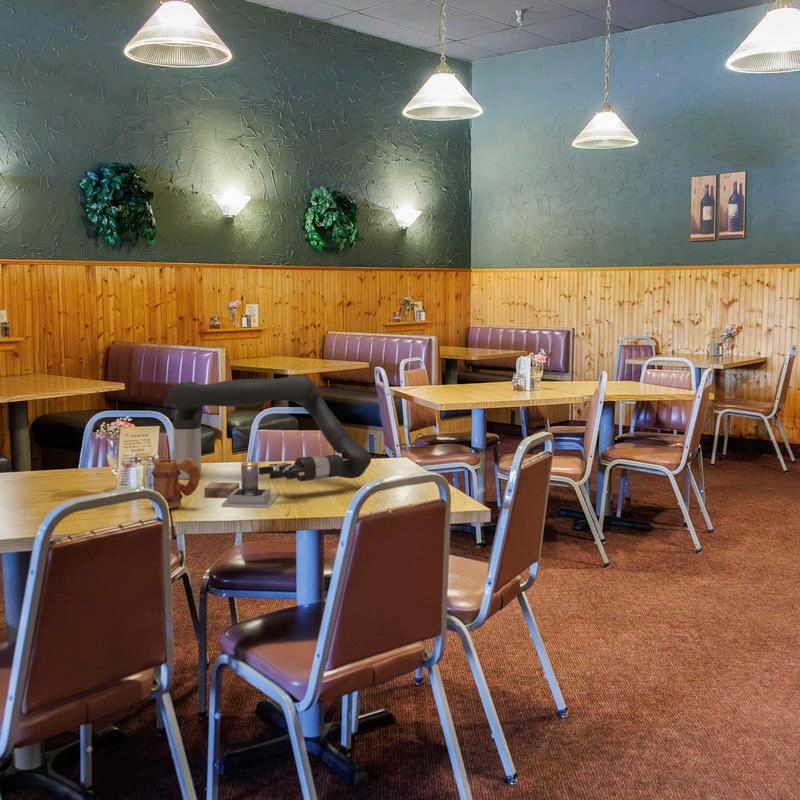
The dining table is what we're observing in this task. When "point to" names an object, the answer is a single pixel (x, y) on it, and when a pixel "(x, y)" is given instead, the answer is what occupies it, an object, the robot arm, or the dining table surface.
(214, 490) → the stand
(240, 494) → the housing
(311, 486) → the dining table surface
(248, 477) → the grey metal cylinder
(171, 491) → the mug
